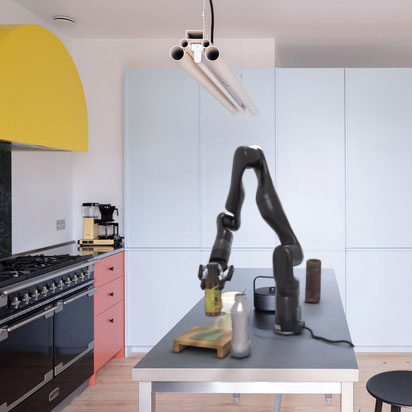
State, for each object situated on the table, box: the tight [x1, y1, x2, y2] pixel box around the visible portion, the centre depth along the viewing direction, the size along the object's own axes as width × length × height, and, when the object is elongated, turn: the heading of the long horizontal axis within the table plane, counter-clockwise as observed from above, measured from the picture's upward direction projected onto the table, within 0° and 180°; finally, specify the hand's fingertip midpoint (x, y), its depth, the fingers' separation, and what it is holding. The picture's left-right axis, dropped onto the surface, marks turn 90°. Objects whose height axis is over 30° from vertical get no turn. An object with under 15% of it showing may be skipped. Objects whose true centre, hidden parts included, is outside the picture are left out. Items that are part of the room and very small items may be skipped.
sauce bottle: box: [204, 262, 223, 318], centre depth 158 cm, size 7×6×20 cm
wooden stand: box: [172, 325, 232, 359], centre depth 141 cm, size 18×14×4 cm
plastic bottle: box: [229, 292, 252, 358], centre depth 133 cm, size 6×7×20 cm
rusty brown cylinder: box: [304, 258, 322, 303], centre depth 196 cm, size 8×7×20 cm
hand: (211, 289), depth 156 cm, fingers closed on sauce bottle, 6 cm apart
